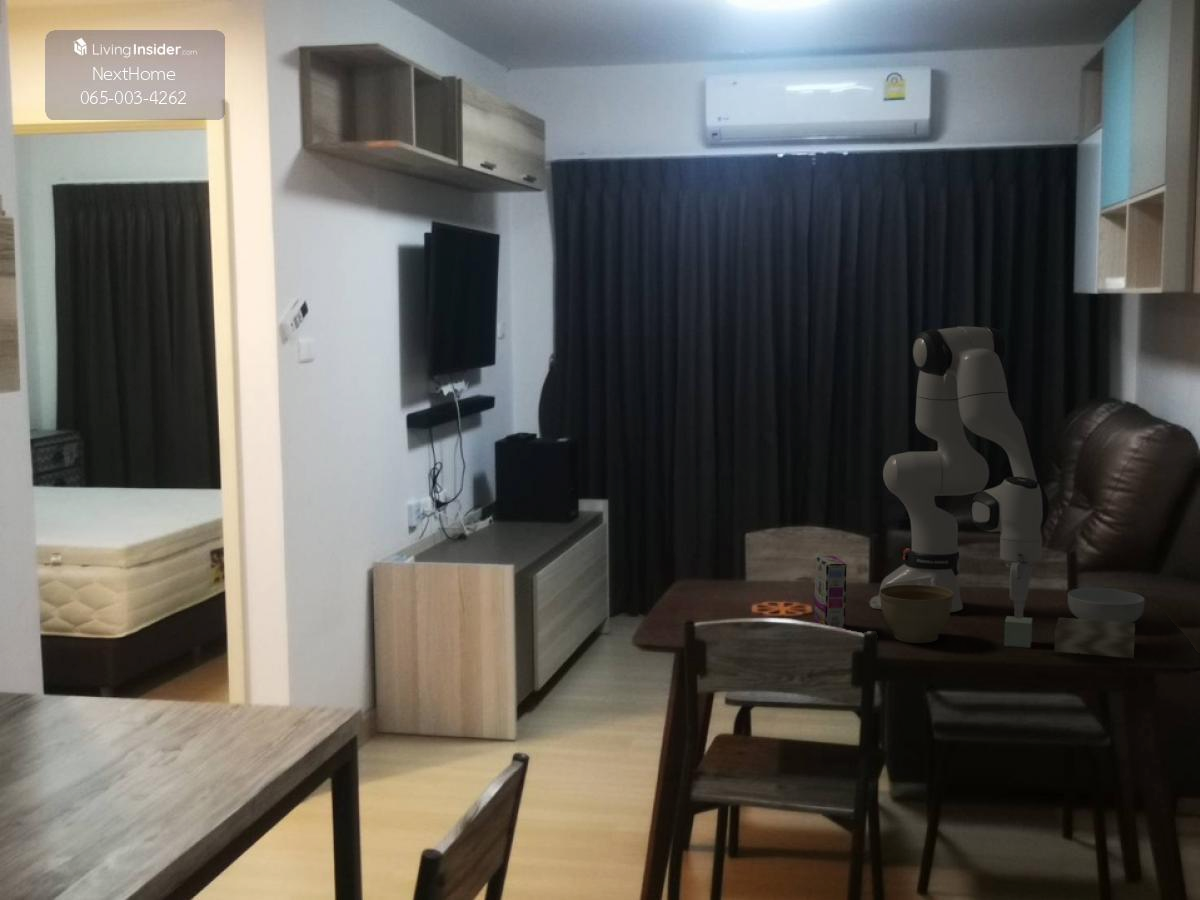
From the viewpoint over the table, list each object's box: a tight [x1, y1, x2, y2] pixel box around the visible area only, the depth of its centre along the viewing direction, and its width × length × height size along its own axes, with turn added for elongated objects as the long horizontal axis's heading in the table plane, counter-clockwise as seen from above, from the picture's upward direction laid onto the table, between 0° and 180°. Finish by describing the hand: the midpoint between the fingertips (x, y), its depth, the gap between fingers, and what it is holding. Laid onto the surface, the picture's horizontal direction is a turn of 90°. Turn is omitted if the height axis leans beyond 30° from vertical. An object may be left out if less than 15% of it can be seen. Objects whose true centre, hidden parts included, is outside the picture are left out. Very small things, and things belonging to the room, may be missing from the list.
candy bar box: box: [813, 555, 848, 629], centre depth 312 cm, size 11×5×16 cm, turn 5°
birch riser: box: [1053, 616, 1136, 659], centre depth 294 cm, size 16×13×5 cm
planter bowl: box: [879, 585, 953, 644], centre depth 302 cm, size 16×16×11 cm
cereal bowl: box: [1067, 587, 1146, 623], centre depth 314 cm, size 17×17×7 cm
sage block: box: [1003, 615, 1033, 649], centre depth 297 cm, size 6×6×6 cm
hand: (1019, 613), depth 296 cm, fingers open, 8 cm apart
